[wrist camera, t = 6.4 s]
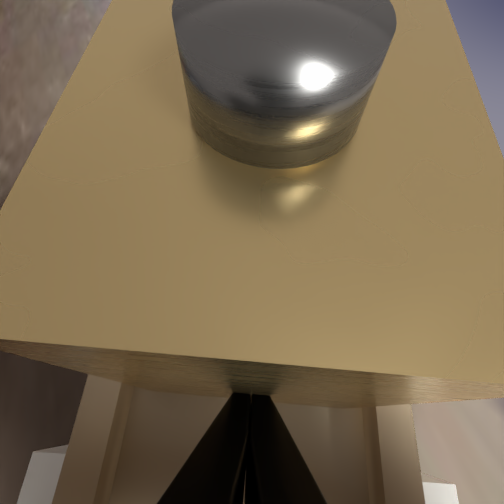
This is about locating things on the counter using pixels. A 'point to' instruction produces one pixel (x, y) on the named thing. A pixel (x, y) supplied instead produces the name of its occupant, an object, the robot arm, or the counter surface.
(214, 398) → the beam
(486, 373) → the block
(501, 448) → the counter surface
